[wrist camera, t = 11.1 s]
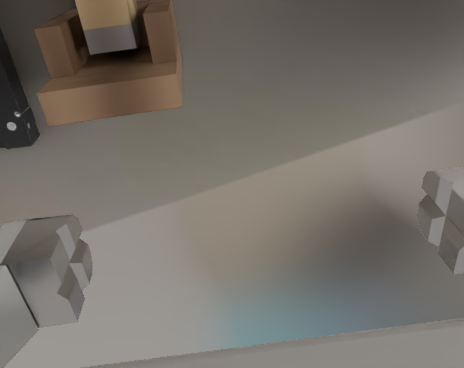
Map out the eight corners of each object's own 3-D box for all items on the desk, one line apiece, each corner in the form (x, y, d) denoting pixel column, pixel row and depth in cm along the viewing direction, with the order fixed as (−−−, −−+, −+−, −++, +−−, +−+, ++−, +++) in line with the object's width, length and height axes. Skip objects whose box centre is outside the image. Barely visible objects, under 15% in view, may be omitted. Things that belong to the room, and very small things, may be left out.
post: (88, 72, 35) (48, 126, 24) (69, 9, 32) (16, 39, 22) (182, 59, 35) (182, 106, 24) (171, -5, 32) (166, 18, 22)
